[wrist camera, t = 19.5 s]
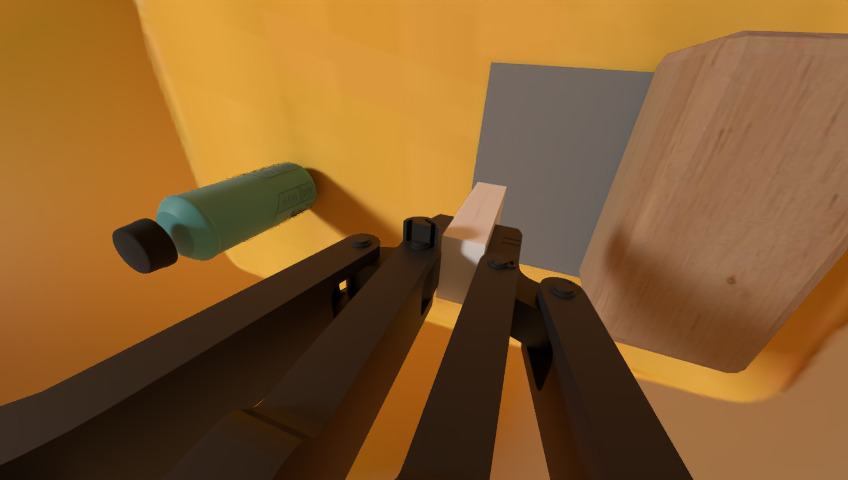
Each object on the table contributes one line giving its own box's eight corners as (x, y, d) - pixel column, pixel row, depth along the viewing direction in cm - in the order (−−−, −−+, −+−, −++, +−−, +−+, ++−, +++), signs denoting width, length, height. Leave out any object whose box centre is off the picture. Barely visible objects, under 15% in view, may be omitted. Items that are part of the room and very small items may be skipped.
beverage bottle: (292, 147, 38) (89, 192, 21) (333, 181, 38) (163, 253, 21) (278, 186, 41) (94, 252, 24) (316, 217, 41) (158, 303, 24)
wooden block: (1052, 34, 11) (744, 383, 21) (833, 59, 20) (685, 299, 29) (729, 26, 14) (586, 338, 23) (659, 51, 22) (575, 273, 32)
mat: (492, 62, 27) (491, 62, 26) (809, 82, 21) (813, 82, 20) (463, 248, 35) (462, 249, 35) (679, 298, 30) (680, 301, 29)
